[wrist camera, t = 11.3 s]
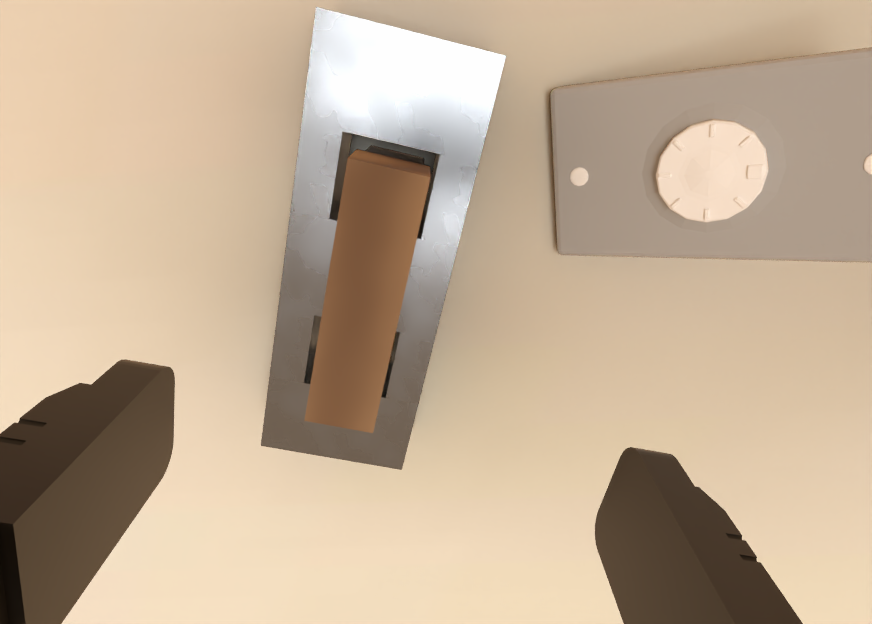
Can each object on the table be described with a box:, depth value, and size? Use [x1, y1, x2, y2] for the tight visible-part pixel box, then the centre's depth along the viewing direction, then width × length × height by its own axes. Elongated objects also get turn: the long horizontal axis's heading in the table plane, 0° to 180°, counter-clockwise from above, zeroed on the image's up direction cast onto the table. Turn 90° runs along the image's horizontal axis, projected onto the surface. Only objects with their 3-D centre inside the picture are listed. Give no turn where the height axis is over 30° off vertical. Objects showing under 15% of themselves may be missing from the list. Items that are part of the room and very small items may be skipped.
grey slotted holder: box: [261, 7, 506, 470], centre depth 28 cm, size 8×22×4 cm, turn 167°
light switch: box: [550, 47, 872, 262], centre depth 26 cm, size 8×6×14 cm
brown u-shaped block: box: [304, 145, 431, 433], centre depth 26 cm, size 3×12×8 cm, turn 167°
